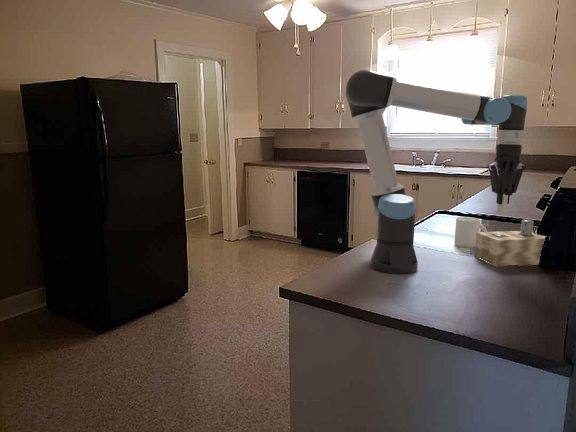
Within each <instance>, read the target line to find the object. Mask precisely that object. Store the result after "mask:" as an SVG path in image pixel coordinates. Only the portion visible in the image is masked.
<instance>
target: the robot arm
mask: <svg viewBox="0 0 576 432" xmlns="http://www.w3.org/2000/svg"><path fill="white" fill-rule="evenodd" d="M345 97H346V100H347V102H348V106H349V107H348V108H349V111H350V116H351V118H352V119H353V120H355V121H356V122H357V124H358V128H359V132H360V136H361V140H362V141H361V142H362V144H363V149H364V152H365V157H366V161H367V166H368V169H369V174H370V177H371V182H372V186H373V190H372V191H371V193H370V196H371V199H372V205H373V208H374V215H375V217H376V219H377V228H376V229H377V230H376V231H377V233H376V234H377V235H376V244H375V246H374V249H373V251H372V255H371V257H370V262H369V263H370V265H369V266H370V267H371V268H372V269H373V270H376V271H378V272H381V273H387V274H393V275H394V274H396V275H403V274H404V275H405V274H412V273H414V272H417V270H418V268H419V267H418V265H419V263H418V259H417V255H416V254H417V253H416V251H415V248H414V239H415V225H416V223H415V222H416V213H417V204H416V203H417V202H416V199H415V198H414V197H412V196H410V195H406V189H405V186H404V185H402V184H401V183H399V180H398V175H397V170H396V167H395V163H394V158H393V155H392V149H391V145H390V141H389V136H388V133H387V129H386V125H385V120H384V116H383V115H384V113H385V111H386V108H388V107H390V106H393V107H398V108H403V109H409V110H414V111H420V112H426V113H431V114H436V115H442V116H447V117H451V118H452V117H453V118H458V119H460V120H461V122H462V124H464V125H470V126H474V125H475V126H498V128H497V129H498V131H497V139H496V142H497V143H498V144H497V145H496V149H495V155H496V157H495V159H494V162H492V163H489V164H488V165H487V168H488V170H489V177H490V184H491V192H492V193H494V194H496V204H497V207H496V208H497V209H496V214H499V215H507V209H508V207H507V206H508V205H509V204H510V199H511V198H510V197H511V196H513V194H516V193H517V190H518V187H519V184H520V182H521V179H522V176H523V173H524V171H525V170H526V168H527V165H525V164H523V163H521V158H520V156H521V155H522V148H523V145H522V143H523V139H524V132H525V131H524V130H525V125H526V124H525V122H526V116H527V112H528V111H527V110H528V99H527V96H526V95H521V94H509V95H507V94H506V95H503V96H502V97H498V96H496V97H490V96H484V95H479V94H474V93H468V92H463V91H457V90H451V89H446V88H441V87H437V86H430V85H426V84H425V85H424V84H419V83H414V82H407V81H402V80H398V79H397V78H396V77H395V76H394V75H389V74H387V73H383V72H378V71H374V70H370V69H361V70H358V71H355V73H353V74H352V75H351V76H350V77H349V78H348V80H347V82H346V86H345Z"/></svg>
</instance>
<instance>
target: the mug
mask: <svg viewBox="0 0 576 432" xmlns="http://www.w3.org/2000/svg"><path fill="white" fill-rule="evenodd" d="M454 229H455V230H454V231H455V232H454V241H453V243H454V245H455V246H457V247H460V248H466V249H472V248H474V249H475V243H476V233H477V232H480V230H483V232H488V229H487V228H486V226H484V224H482V223H481V219H480V218H477V217H470V216H458V217H456V218H455V228H454Z"/></svg>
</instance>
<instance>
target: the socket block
mask: <svg viewBox="0 0 576 432" xmlns="http://www.w3.org/2000/svg"><path fill="white" fill-rule="evenodd" d="M520 232H521V230H507V231H502V230H501V231H487V232H485V231H479V232H477V233H476V243H475V247H474V254H473V255H474V258H476V257H478V258H481V259H483V260H485V261H487V262H489V263H491V264H492V265H491V264H490V265H491V266H493V265H494V266H493V267H495V266H496V267H503V266H502V265H516V264H521V265H520V266H539V262H540V256H541V250H542V246H543V244H544V241H545V237H546V236H545V235H542V234H539V233H535V232H533V231H532V236H526V237H525V236H522V235H520ZM494 234H503V235H506V237H496V236H494ZM538 234H539V235H538ZM541 235H542V236H541ZM478 258H477V259H478ZM485 261H484V262H485ZM487 262H486V263H487ZM489 263H488V264H489Z"/></svg>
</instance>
